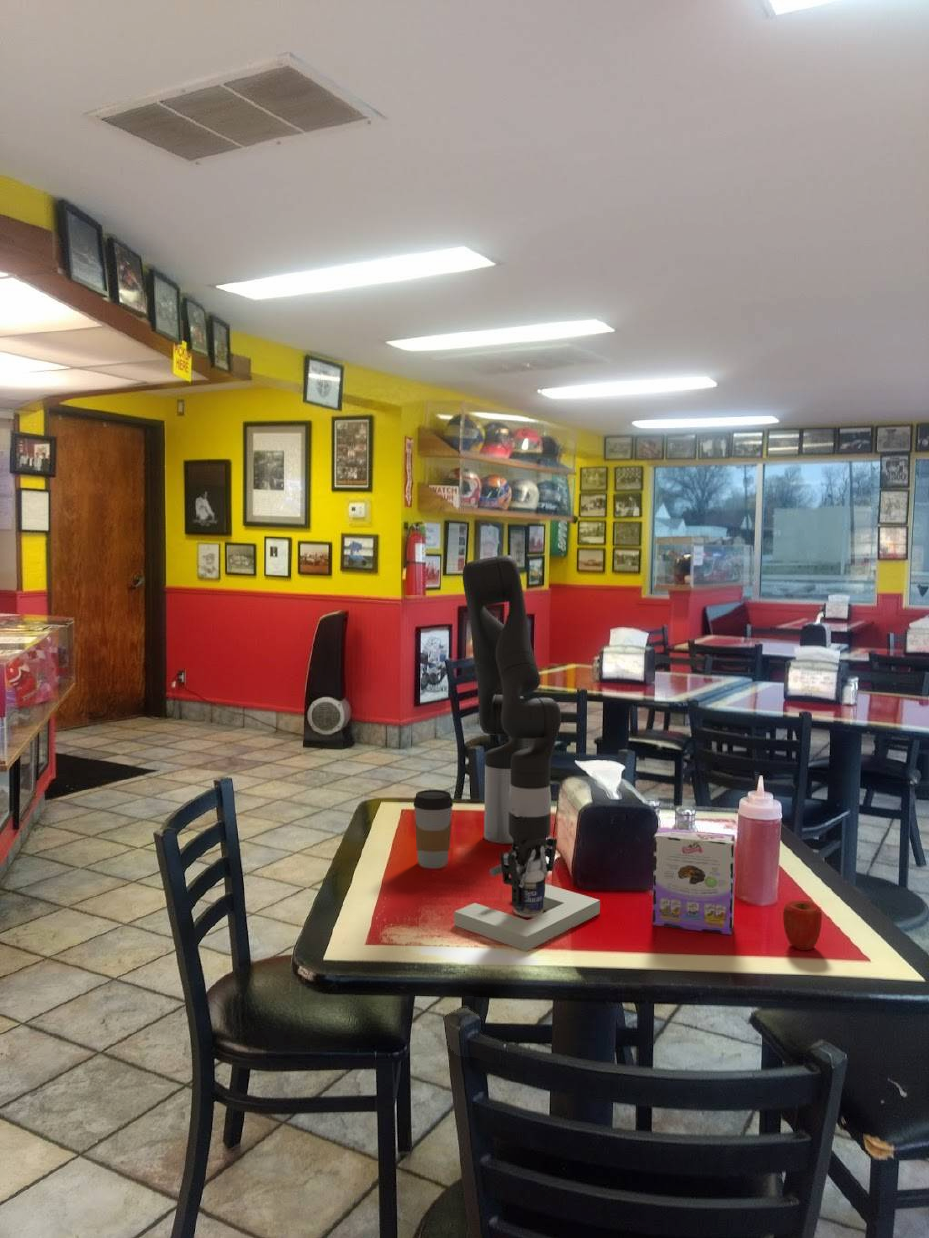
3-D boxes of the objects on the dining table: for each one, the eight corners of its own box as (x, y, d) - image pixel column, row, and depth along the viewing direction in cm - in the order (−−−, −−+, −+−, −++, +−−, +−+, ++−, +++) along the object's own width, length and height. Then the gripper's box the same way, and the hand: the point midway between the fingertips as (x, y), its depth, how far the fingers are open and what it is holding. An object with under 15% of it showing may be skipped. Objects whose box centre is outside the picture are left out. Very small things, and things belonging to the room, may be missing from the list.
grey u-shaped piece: (530, 891, 181) (530, 846, 181) (599, 913, 171) (600, 865, 170) (454, 925, 165) (454, 875, 164) (526, 951, 154) (527, 898, 154)
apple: (789, 935, 162) (791, 893, 161) (826, 945, 158) (827, 902, 157) (776, 947, 157) (777, 903, 156) (813, 957, 153) (814, 913, 152)
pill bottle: (523, 919, 164) (523, 865, 163) (507, 909, 169) (508, 856, 168) (549, 914, 167) (550, 861, 166) (533, 904, 171) (534, 852, 171)
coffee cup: (451, 870, 193) (452, 799, 192) (411, 870, 193) (411, 799, 192) (453, 857, 201) (453, 789, 200) (414, 857, 201) (414, 788, 200)
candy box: (733, 923, 167) (736, 833, 165) (731, 936, 161) (734, 843, 160) (655, 913, 171) (657, 825, 170) (651, 925, 166) (653, 834, 164)
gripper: (537, 797, 174) (535, 885, 176) (487, 813, 163) (486, 907, 165) (570, 804, 169) (568, 895, 171) (521, 821, 159) (520, 918, 160)
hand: (528, 900), depth 168 cm, fingers closed on pill bottle, 5 cm apart
